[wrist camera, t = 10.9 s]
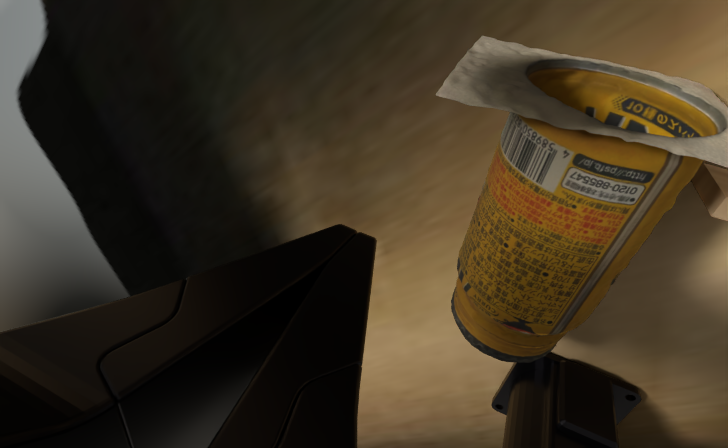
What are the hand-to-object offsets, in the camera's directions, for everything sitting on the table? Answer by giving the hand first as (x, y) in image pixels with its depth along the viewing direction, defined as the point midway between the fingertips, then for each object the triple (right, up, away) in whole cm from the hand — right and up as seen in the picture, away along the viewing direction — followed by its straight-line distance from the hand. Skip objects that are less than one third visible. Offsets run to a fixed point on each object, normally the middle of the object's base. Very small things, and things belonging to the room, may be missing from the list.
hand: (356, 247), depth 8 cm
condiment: (+8, +5, +5) cm, 10 cm away
